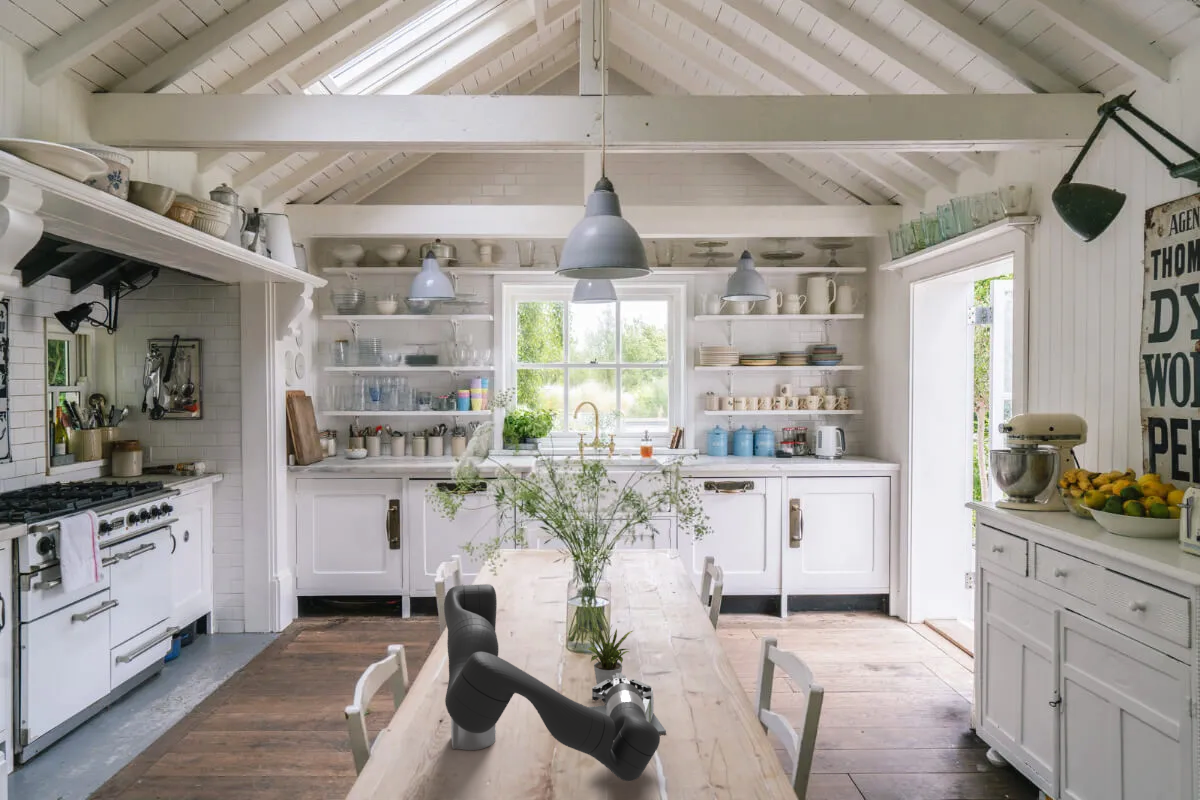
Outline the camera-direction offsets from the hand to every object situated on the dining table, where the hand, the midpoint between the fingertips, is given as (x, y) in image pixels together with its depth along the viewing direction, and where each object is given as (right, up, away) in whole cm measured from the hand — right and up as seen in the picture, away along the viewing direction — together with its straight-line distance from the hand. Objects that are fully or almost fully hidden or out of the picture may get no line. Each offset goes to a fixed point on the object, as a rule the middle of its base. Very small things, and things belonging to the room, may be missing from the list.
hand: (618, 677), depth 175 cm
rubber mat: (-1, -12, +5) cm, 13 cm away
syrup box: (+3, -9, -5) cm, 10 cm away
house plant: (-3, -12, +24) cm, 26 cm away
